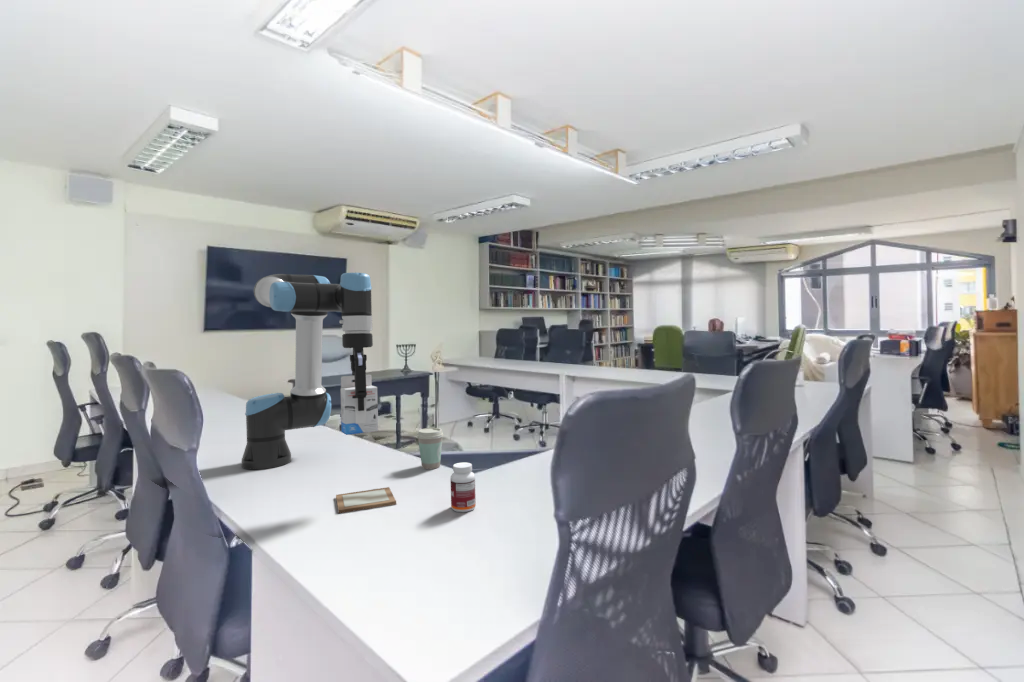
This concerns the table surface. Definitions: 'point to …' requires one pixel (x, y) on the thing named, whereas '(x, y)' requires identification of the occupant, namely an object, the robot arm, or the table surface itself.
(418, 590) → the table surface
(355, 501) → the board
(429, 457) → the coffee cup
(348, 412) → the ink box
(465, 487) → the pill bottle
